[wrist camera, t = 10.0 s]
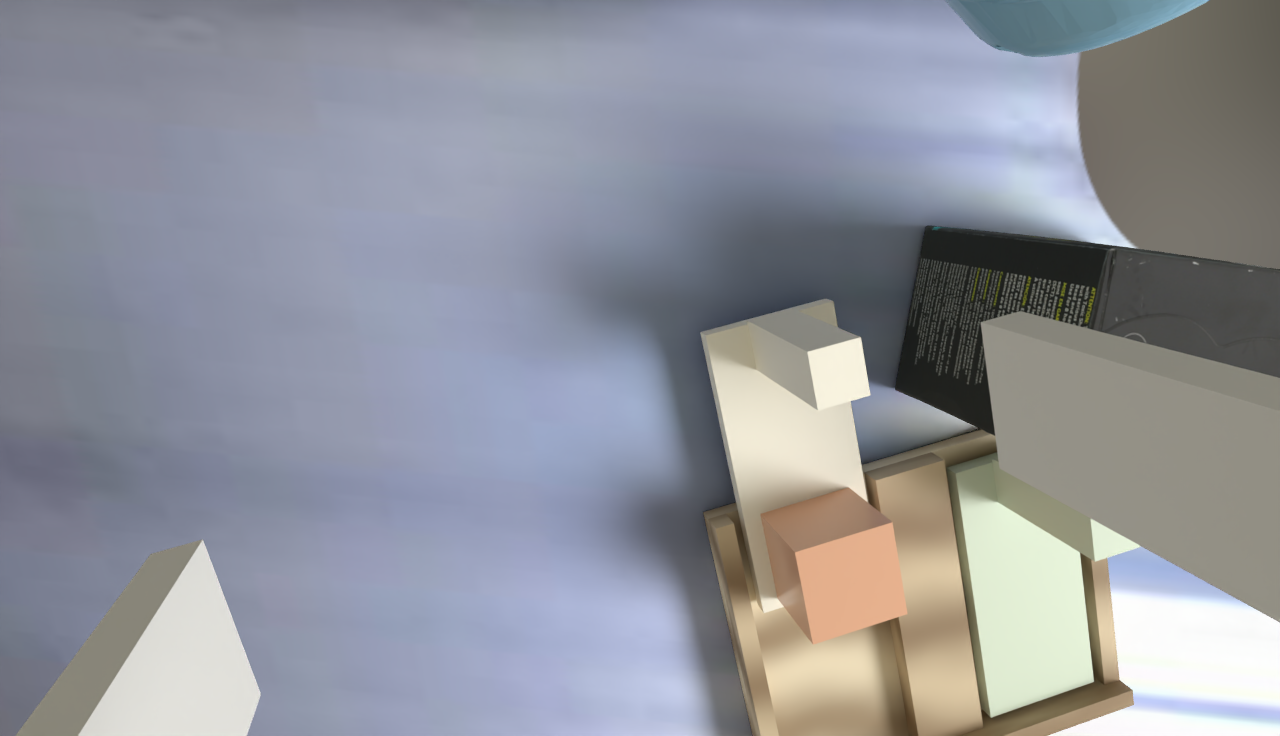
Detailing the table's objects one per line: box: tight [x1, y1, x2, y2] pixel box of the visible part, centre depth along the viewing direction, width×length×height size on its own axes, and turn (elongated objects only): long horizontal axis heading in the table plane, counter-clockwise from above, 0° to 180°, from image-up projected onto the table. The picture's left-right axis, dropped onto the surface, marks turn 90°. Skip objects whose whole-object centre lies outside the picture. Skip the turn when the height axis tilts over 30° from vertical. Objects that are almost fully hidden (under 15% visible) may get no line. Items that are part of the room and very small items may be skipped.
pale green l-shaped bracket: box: [946, 452, 1140, 718], centre depth 49 cm, size 16×7×9 cm, turn 13°
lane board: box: [703, 429, 1134, 736], centre depth 53 cm, size 18×22×4 cm
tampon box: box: [895, 226, 1280, 436], centre depth 44 cm, size 11×9×15 cm
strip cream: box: [700, 299, 870, 613], centre depth 45 cm, size 16×7×9 cm, turn 13°
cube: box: [760, 487, 907, 645], centre depth 47 cm, size 5×5×5 cm
